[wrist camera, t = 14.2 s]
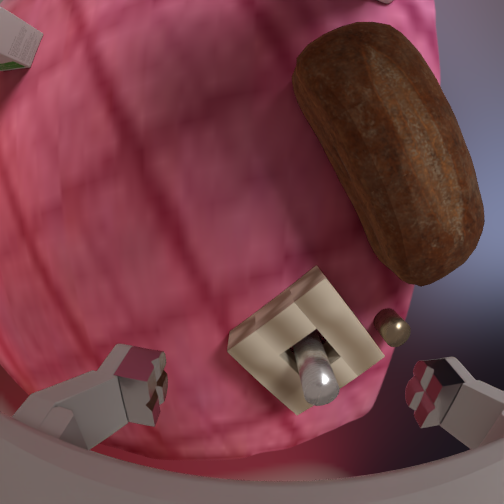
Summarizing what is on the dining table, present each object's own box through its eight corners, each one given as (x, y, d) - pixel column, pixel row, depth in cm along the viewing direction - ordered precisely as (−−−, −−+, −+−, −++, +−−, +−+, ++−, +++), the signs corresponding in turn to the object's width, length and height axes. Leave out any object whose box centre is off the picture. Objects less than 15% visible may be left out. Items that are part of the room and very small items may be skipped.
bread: (363, 42, 30) (401, -1, 18) (452, 229, 36) (510, 248, 24) (271, 79, 32) (280, 34, 20) (375, 278, 38) (420, 317, 26)
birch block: (316, 265, 37) (325, 277, 32) (372, 338, 39) (384, 356, 34) (229, 331, 39) (226, 351, 34) (293, 393, 41) (297, 415, 37)
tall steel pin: (307, 319, 39) (327, 372, 27) (322, 337, 39) (345, 392, 28) (285, 335, 39) (297, 392, 27) (301, 352, 40) (316, 410, 28)
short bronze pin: (389, 303, 38) (403, 316, 34) (400, 320, 39) (414, 334, 34) (369, 319, 39) (381, 335, 34) (381, 336, 39) (393, 351, 35)
